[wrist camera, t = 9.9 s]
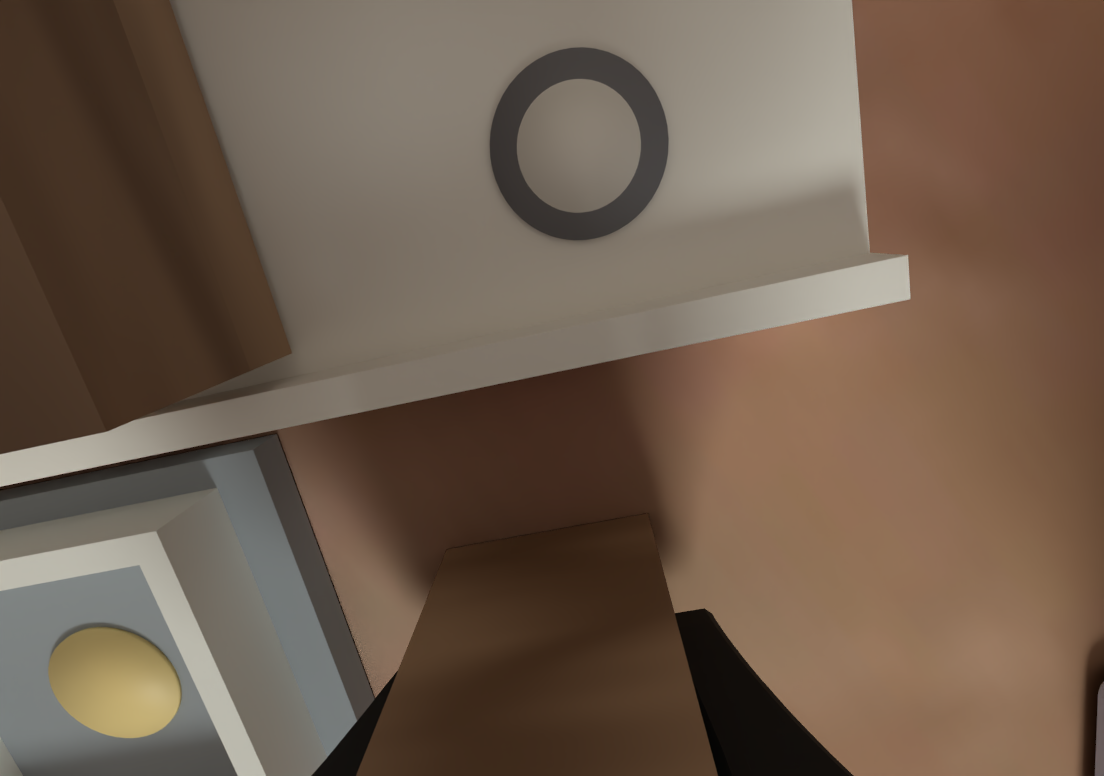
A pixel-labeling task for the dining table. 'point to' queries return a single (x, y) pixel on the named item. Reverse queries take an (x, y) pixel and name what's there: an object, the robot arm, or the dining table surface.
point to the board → (516, 193)
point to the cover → (115, 226)
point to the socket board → (171, 623)
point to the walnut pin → (546, 665)
